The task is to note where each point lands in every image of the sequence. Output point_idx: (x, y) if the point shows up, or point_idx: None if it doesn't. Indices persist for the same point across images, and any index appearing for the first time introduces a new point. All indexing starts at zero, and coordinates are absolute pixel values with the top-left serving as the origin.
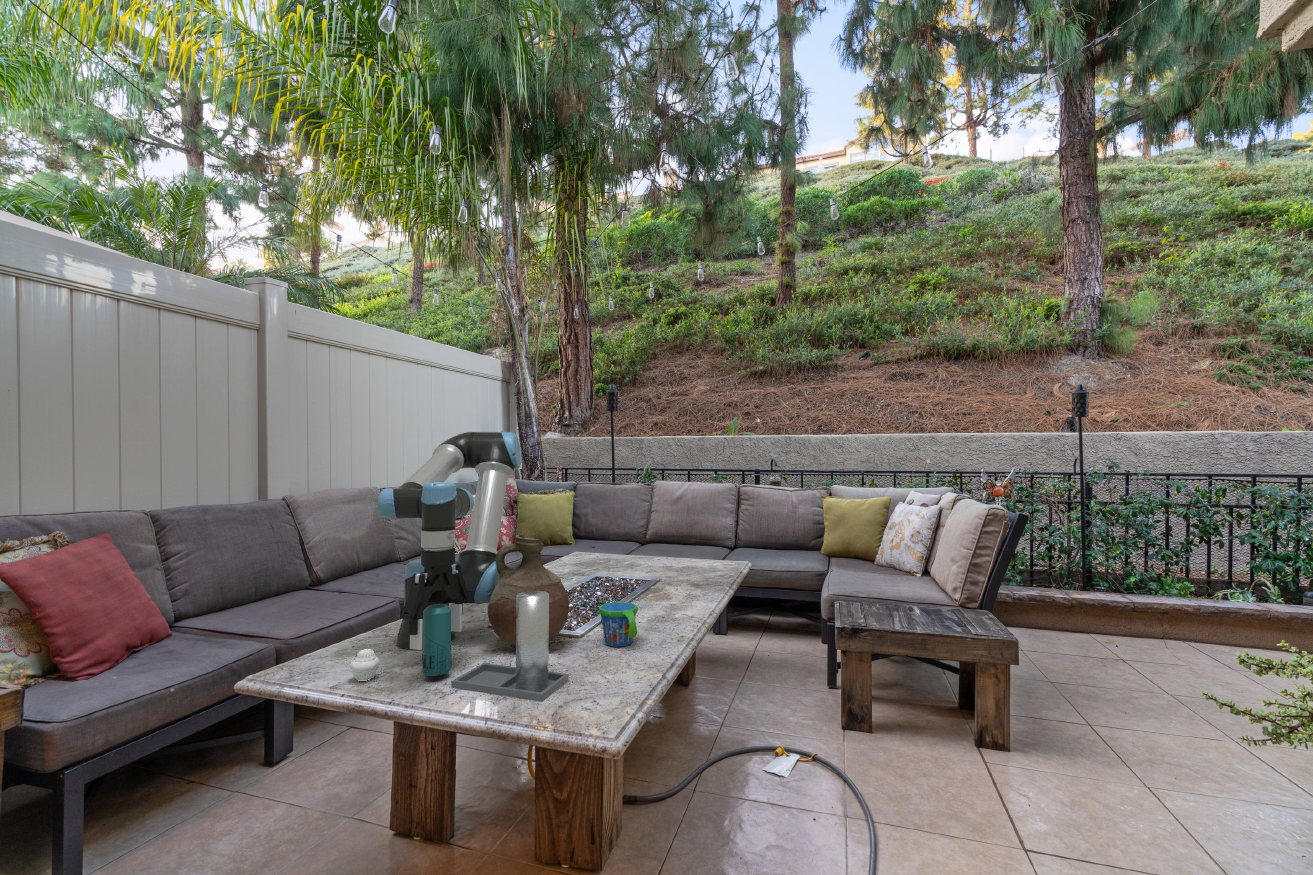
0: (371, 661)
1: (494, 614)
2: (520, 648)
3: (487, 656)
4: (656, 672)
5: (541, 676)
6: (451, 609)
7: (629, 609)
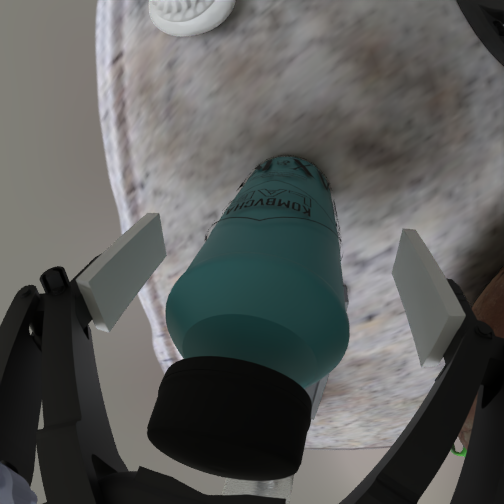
0: (176, 25)
1: (502, 337)
2: None
3: (456, 237)
4: (367, 444)
5: None
6: (435, 297)
7: None
